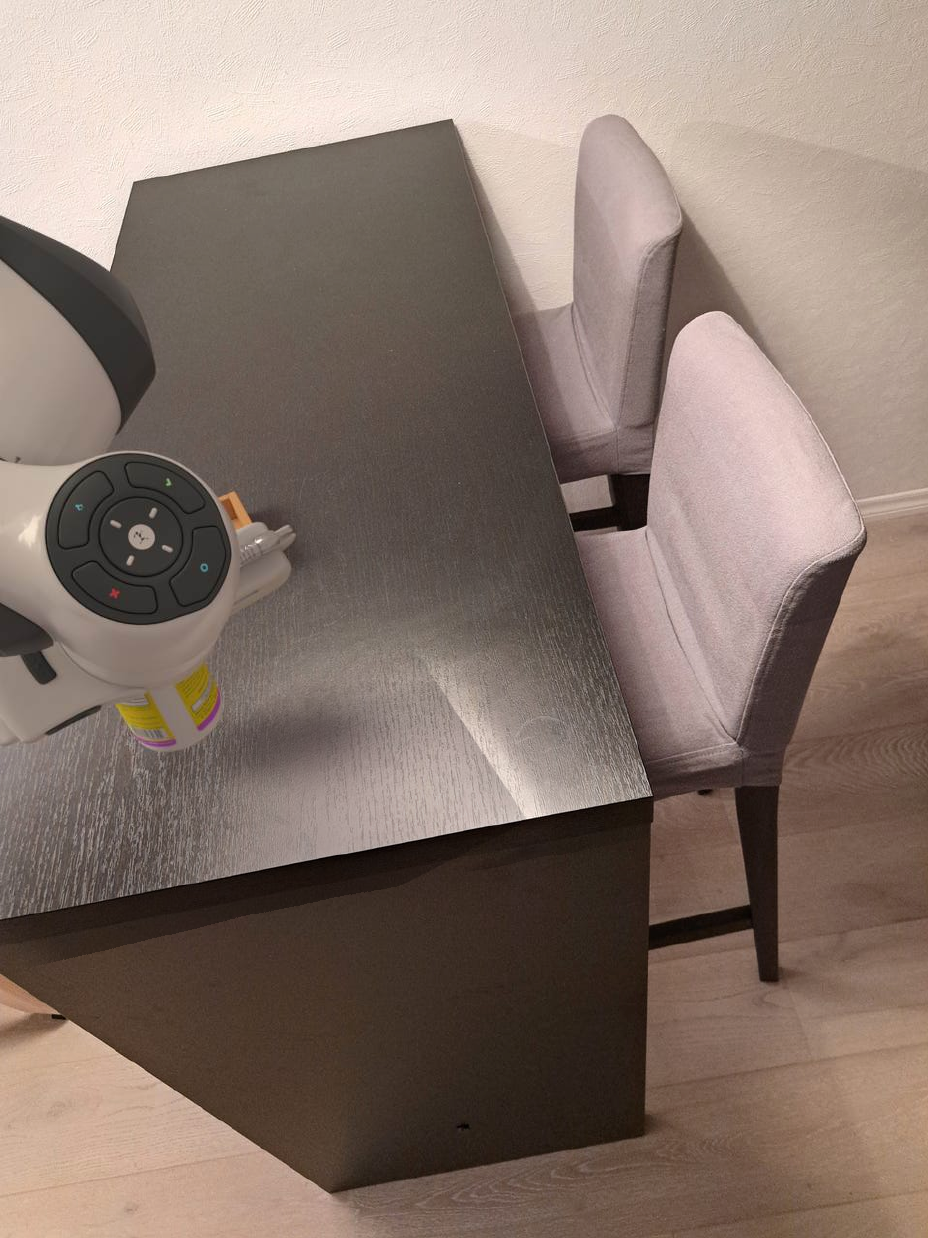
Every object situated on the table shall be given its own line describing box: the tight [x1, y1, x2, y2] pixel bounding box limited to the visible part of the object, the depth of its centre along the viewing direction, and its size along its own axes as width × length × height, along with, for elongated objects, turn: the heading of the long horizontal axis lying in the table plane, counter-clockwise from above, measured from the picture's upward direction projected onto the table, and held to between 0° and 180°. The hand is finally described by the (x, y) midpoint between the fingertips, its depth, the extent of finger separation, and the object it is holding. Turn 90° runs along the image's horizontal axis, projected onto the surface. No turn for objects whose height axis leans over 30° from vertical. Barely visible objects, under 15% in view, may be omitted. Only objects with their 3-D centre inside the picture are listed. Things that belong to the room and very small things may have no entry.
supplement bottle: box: [115, 661, 224, 753], centre depth 65 cm, size 7×7×13 cm
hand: (139, 648), depth 65 cm, fingers closed on supplement bottle, 6 cm apart
